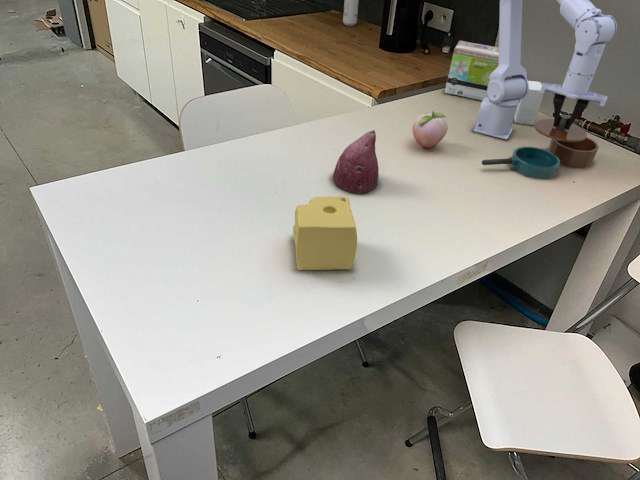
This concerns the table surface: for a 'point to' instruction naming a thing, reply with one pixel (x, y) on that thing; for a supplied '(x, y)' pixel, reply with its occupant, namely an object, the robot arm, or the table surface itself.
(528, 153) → the pan
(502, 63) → the robot arm
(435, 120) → the decorative fruit
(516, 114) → the small box
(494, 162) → the pan handle
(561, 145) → the casserole
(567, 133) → the lid
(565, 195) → the table surface
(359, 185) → the vegetable
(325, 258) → the cheese
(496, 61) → the tea box
